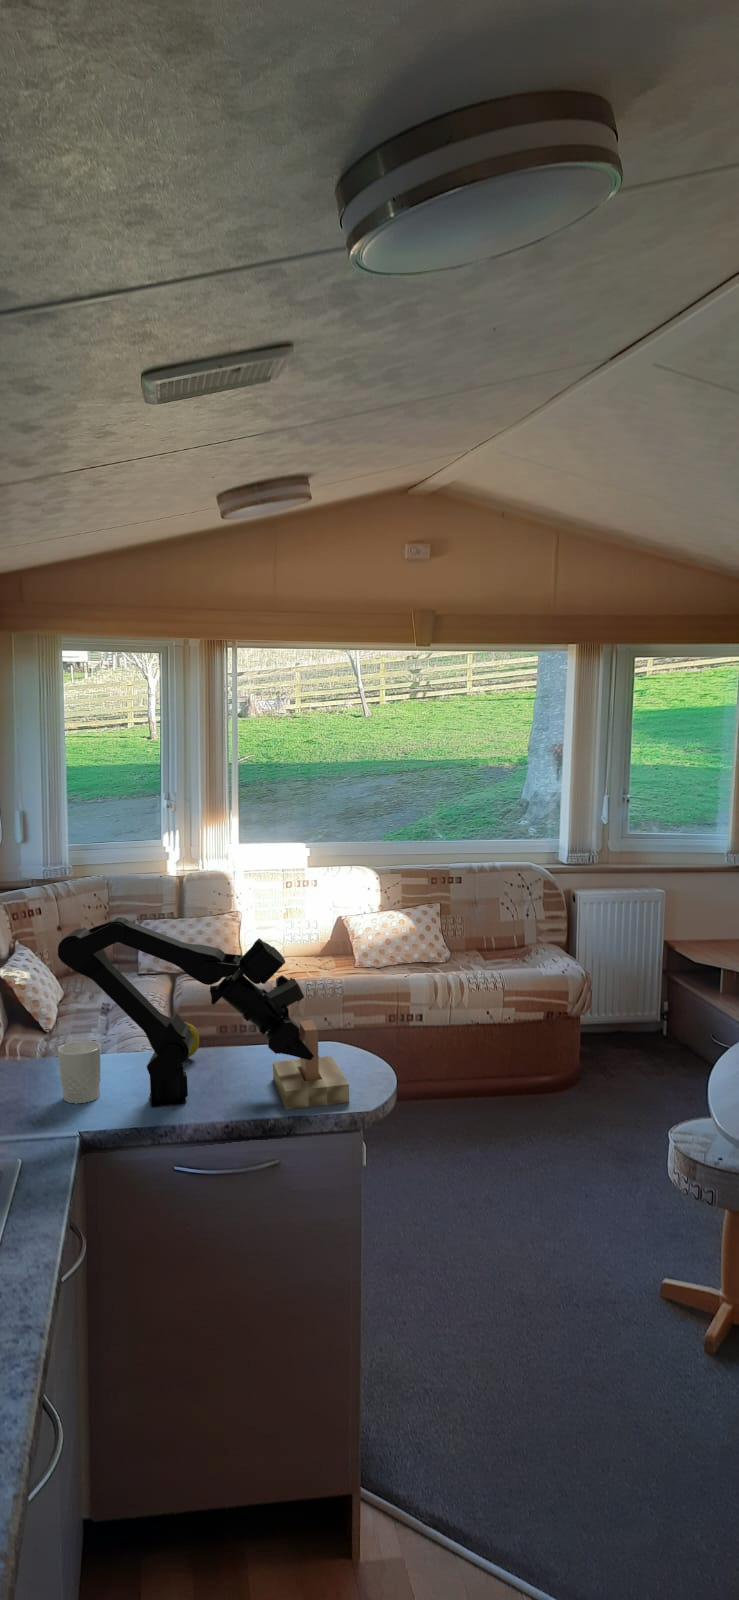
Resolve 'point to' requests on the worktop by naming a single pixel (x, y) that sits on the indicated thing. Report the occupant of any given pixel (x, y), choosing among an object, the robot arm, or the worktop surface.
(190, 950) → the robot arm
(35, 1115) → the worktop surface
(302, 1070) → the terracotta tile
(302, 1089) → the pine slot box
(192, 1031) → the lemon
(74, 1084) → the white cup
